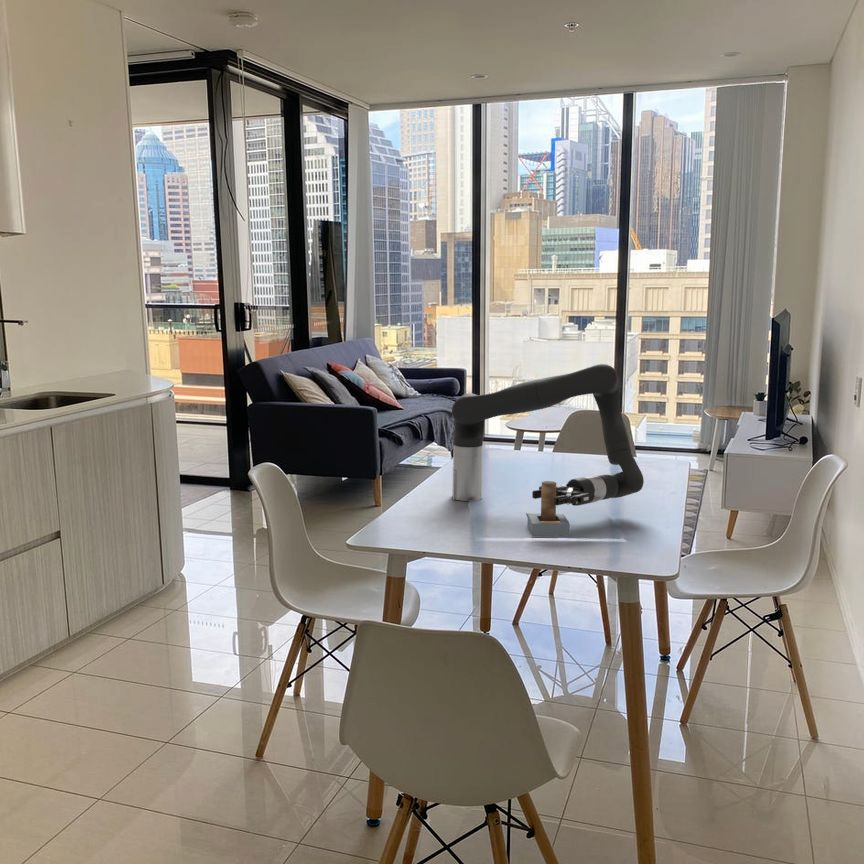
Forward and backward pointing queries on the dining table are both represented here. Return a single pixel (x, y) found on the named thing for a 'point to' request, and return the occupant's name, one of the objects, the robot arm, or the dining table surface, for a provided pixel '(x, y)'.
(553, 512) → the walnut peg
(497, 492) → the dining table surface
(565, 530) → the socket block
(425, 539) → the dining table surface
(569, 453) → the dining table surface
